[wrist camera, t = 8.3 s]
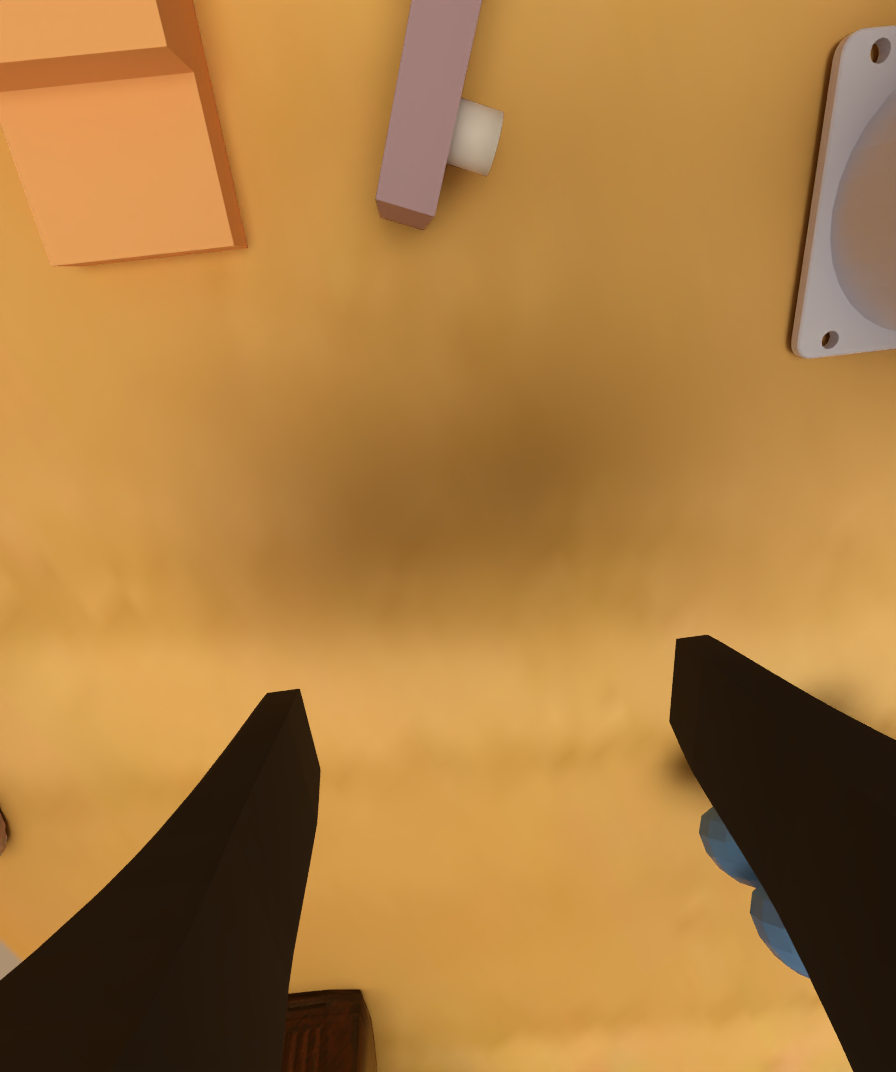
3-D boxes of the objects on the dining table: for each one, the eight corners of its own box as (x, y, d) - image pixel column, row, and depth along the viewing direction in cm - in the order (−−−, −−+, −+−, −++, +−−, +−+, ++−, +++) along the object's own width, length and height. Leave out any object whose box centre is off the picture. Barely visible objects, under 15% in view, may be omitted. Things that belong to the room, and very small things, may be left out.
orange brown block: (145, -224, 12) (59, -393, 9) (250, 247, 16) (214, 243, 13) (-71, -205, 12) (-234, -371, 9) (85, 266, 16) (9, 265, 13)
